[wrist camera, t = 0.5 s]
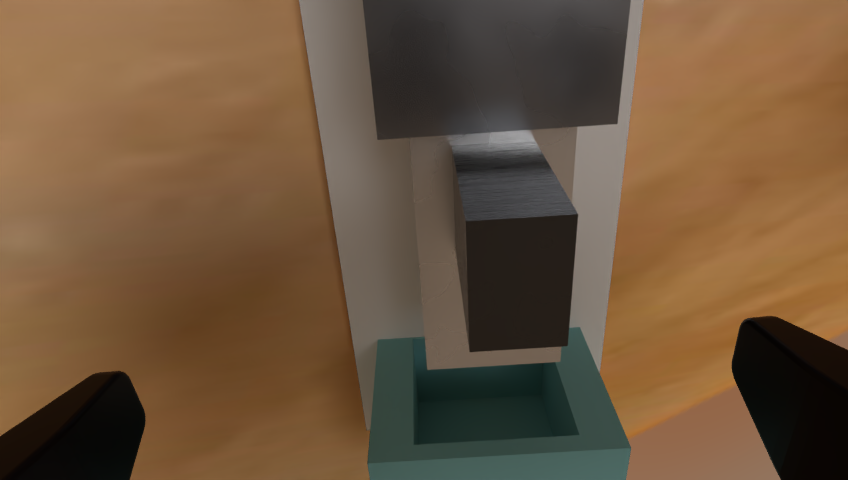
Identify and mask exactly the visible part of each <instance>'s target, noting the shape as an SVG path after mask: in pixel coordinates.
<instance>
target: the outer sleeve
mask: <svg viewBox="0 0 848 480" xmlns="http://www.w3.org/2000/svg"><path fill="white" fill-rule="evenodd" d="M630 3H631V0H363V9H364V18H365V28H366V37H367V47H368V56H369V65H370V75H371V84H372V94H373V103H374V112H375V122H376V131H377V140H384V139H400V138H415V137H430V136H445V135H460V134H475V133H490V132H505V131H521V130H536V129H551V128H566V127H581V126H596V125H611V124H618V115H619V105H620V96H621V87H622V77H623V68H624V59H625V50H626V40H627V31H628V22H629V13H630Z"/></svg>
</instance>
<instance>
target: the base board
mask: <svg viewBox="0 0 848 480" xmlns="http://www.w3.org/2000/svg"><path fill="white" fill-rule="evenodd" d="M643 2H644V0H631V3H630V13H629V22H628V31H627V40H626V50H625V59H624V68H623V77H622V87H621V96H620V105H619V115H618V124H611V125H596V126H581V127H577V139H576V153H575V167H574V180H573V194H572V204H573V206H574V208H575V209H576V211H577V213H578V224H577V236H576V249H575V261H574V274H573V287H572V299H571V312H570V324H569V328H573V327H580V329H581V331H582V333H583V336H584V338H585V340H586V343H587V345H588V347H589V350H590V352H591V354H592V357H593V359H594V362H595V364H596V366H597V369H598V371H599V373H600V366H601V358H602V349H603V341H604V332H605V324H606V315H607V307H608V298H609V290H610V282H611V273H612V265H613V256H614V248H615V239H616V231H617V222H618V214H619V205H620V197H621V189H622V180H623V172H624V163H625V155H626V146H627V138H628V129H629V121H630V112H631V104H632V95H633V87H634V79H635V70H636V62H637V53H638V45H639V36H640V28H641V19H642V11H643ZM299 4H300V10H301V16H302V23H303V29H304V35H305V42H306V48H307V54H308V61H309V67H310V74H311V80H312V86H313V93H314V99H315V105H316V112H317V118H318V124H319V131H320V137H321V144H322V150H323V156H324V163H325V169H326V175H327V182H328V188H329V194H330V201H331V207H332V213H333V220H334V226H335V233H336V239H337V245H338V252H339V258H340V264H341V271H342V277H343V283H344V290H345V296H346V303H347V309H348V315H349V322H350V328H351V334H352V341H353V347H354V353H355V360H356V366H357V373H358V379H359V385H360V392H361V398H362V404H363V411H364V417H365V423H366V430H370V427H371V415H372V403H373V391H374V378H375V366H376V354H377V342H378V339H395V338H411V337H425V334H424V321H423V308H422V295H421V282H420V270H419V257H418V244H417V231H416V218H415V205H414V192H413V179H412V166H411V154H410V141H409V138H400V139H384V140H377V131H376V122H375V112H374V103H373V94H372V84H371V75H370V65H369V56H368V47H367V37H366V28H365V18H364V9H363V0H299Z"/></svg>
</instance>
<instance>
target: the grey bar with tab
mask: <svg viewBox="0 0 848 480" xmlns="http://www.w3.org/2000/svg"><path fill="white" fill-rule="evenodd" d="M576 139H577V127H566V128H551V129H536V130H521V131H505V132H490V133H475V134H460V135H445V136H430V137H415V138H409V141H410V154H411V166H412V179H413V192H414V205H415V218H416V231H417V244H418V257H419V270H420V282H421V295H422V308H423V321H424V334H425V347H426V360H427V370H433V369H450V368H466V367H483V366H499V365H516V364H532V363H548V362H560V360H561V347H563V346H568V337H569V324H570V312H571V299H572V287H573V274H574V261H575V249H576V236H577V224H578V213H577V211H576V209H575V208H574V206H573V204H572V194H573V180H574V167H575V153H576Z"/></svg>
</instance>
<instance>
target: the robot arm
mask: <svg viewBox="0 0 848 480" xmlns="http://www.w3.org/2000/svg"><path fill="white" fill-rule="evenodd" d="M732 372H733V376H734V379H735V381H736V384H737V386H738V388H739V390H740V392H741V395H742V397H743V399H744V401H745V404H746V406H747V408H748V410H749V412H750V415H751V417H752V419H753V421H754V423H755V425H756V428H757V430H758V432H759V434H760V437H761V439H762V441H763V443H764V445H765V448H766V449H767V452H768V454H769V456H770V459H771V460H772V463H773V465H774V467H775V469H776V471H777V473H778V475H779V477H780V479H781V480H848V350H847V349H845V348H842V347H840V346H838V345H836V344H834V343H832V342H830V341H827V340H825V339H823V338H821V337H819V336H817V335H815V334H813V333H810V332H808V331H806V330H804V329H802V328H800V327H798V326H795V325H793V324H791V323H789V322H787V321H785V320H783V319H780V318H778V317H775V316H765V317H753V318H747V319H745V320H744V321H743V322H742V323H741V325H740V328H739V333H738V337H737V341H736V346H735V350H734V355H733V359H732ZM144 427H145V412H144V409H143V406H142V404H141V402H140V400H139V398H138V395H137V393H136V391H135V389H134V387H133V384H132V382H131V380H130V378H129V376H128V375H127V374H126V373H124V372H121V371H112V372H100V373H95V374H93V375H91V376H89V377H88V378H86V379H85V380H83V381H82V382H80V383H79V384H77V385H76V386H74V387H73V388H71V389H70V390H68V391H67V392H65V393H64V394H62V395H61V396H59V397H58V398H56V399H55V400H53V401H52V402H51V403H49V404H48V405H46V406H45V407H43V408H42V409H40V410H39V411H37V412H36V413H34V414H33V415H31V416H30V417H28V418H27V419H25V420H24V421H22V422H21V423H19V424H18V425H16V426H15V427H13V428H12V429H10V430H9V431H7V432H6V433H4V434H3V435H1V436H0V480H130V477H131V473H132V470H133V466H134V463H135V459H136V456H137V452H138V449H139V445H140V442H141V438H142V435H143V431H144Z"/></svg>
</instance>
